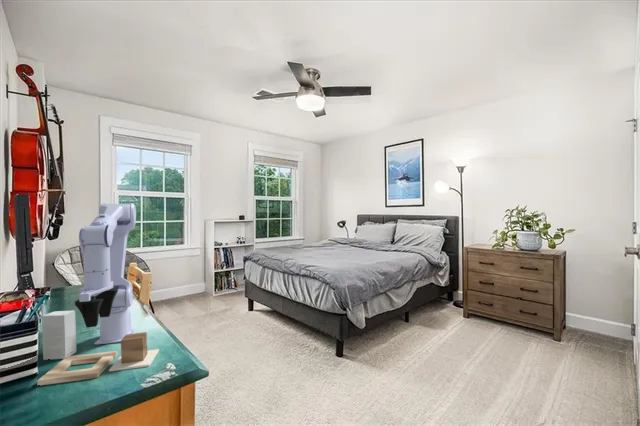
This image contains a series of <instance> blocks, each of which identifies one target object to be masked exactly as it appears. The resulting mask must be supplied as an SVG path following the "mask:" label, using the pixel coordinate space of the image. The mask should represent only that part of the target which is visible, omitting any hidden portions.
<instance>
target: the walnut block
mask: <svg viewBox="0 0 640 426" xmlns="http://www.w3.org/2000/svg"><path fill="white" fill-rule="evenodd" d="M147 335H148V333H147V331H144V332H136V333H131V334H126V335H125V336H124V337H123V339H122V340H121V342H120V356H121V364H124V363H131V362H138V361H144V359H145V357H146V355H147V350H148V338H147V337H148V336H147Z"/></svg>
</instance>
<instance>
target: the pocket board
mask: <svg viewBox="0 0 640 426" xmlns="http://www.w3.org/2000/svg"><path fill="white" fill-rule="evenodd" d="M118 355H119V354H118V350H114V351H103V352H102V351H101V352H93V353H89V354H88V353H87V354H79V355H71V356H68V357H66V358H64V359H61V361H60V362H58V363H56V365H55V366H53V367H52V368H51V369H49V370H48V371H47V372H46V373H45V374H44V375H42V376H41V377H40V378H39V379H38V380H37V381H36V383H37V386H38V385H40V386H44V385H46V386H47V385H54V384H62V383H67V382H74V381H75V382H77V381H82V380H84V381H85V380H90V379H91V380H93V379H97V378H99V377H100V375H102V373H103V372H104V371H105V370H106V369H107V368H108V367H109V365H110V364H112V362H113V361H114V360H115V359H116V358H117V357H118ZM93 363H95V364H94V365H93V366H92V367H91V368H82V369H81V368H80V369H74V370H68V369H69V368H70V367H72V366H74V365H75V366H76V365H83V364H84V365H86V364H93Z"/></svg>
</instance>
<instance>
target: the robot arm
mask: <svg viewBox="0 0 640 426" xmlns="http://www.w3.org/2000/svg"><path fill="white" fill-rule="evenodd" d="M136 220H137V207H136V204H134V203H133V202H130V203H104V202H103V203H101V204H100V205H99V207H98V216H96V217H95V218H94V219H93V220H92V221H91V223H89V225H85V226H83V227H81V228H80V229H79V232H78V243H79V245H80V253H81V255H83V287H80V288H79V290H78V291H79V292H80V293H79V295H78V296H79V297H78V299H76V300H75V301H74V306H75V307H76V308H77V309H78V311H79V313H81V315H82V318H83V320H84V323H85V327H86V328H94V327H97V326H98V324H99V339H97V340H96V341H95V342H94V343H93V344H94V345H105V344H116V343H121V340H122V339H123V337H124V336H125V335H126V334H133V332H135V328H132V318H131V317H132V314H131V309H129V308H130V307H131V306H132V305H133V300H134V293H133V288H134V287H133V284H132V283H131V281H129V280H127V278H124V277H125V266H126V265H125V264H126V256H127V255H126V254H127V244H128V237H129V234H130V232H131V231H133V230H135V226H136V224H137V223H136V222H137V221H136Z"/></svg>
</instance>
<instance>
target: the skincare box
mask: <svg viewBox="0 0 640 426" xmlns="http://www.w3.org/2000/svg"><path fill="white" fill-rule="evenodd" d="M41 323H42V324H41V326H42V328H41V329H42V330H41V332H42V358H43V360H44V361H46V360H48V359H50V360H51V361H52V360H63V359H64V358H66V357H68V356H74V354H76V353H77V329H76V328H77V326H76V324H77V322H76V310H57V311H52V312H49V313H46V314H44V315H42V316H41ZM48 361H49V360H48Z"/></svg>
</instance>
